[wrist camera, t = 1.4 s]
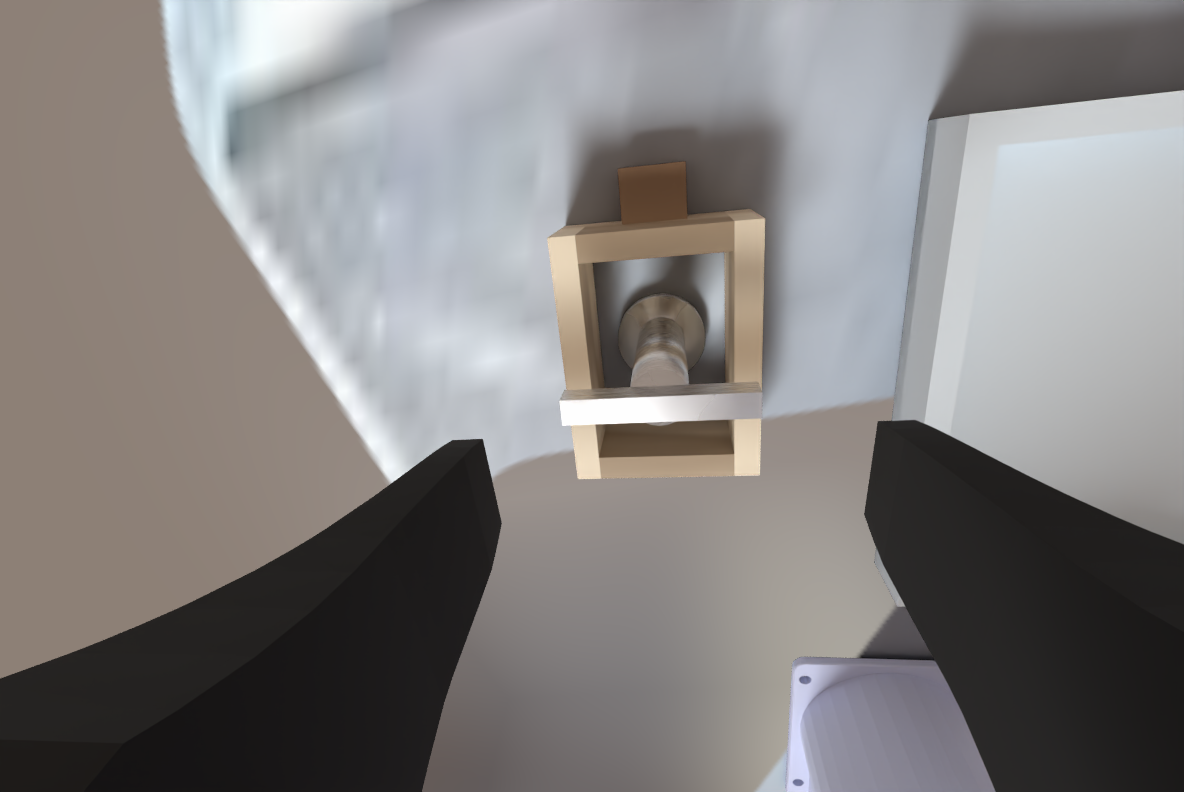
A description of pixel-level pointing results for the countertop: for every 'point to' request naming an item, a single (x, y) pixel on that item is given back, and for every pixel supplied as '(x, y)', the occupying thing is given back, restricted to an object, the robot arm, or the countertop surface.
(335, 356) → the countertop surface
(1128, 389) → the tray
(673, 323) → the t head stake
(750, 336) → the wooden lantern frame
